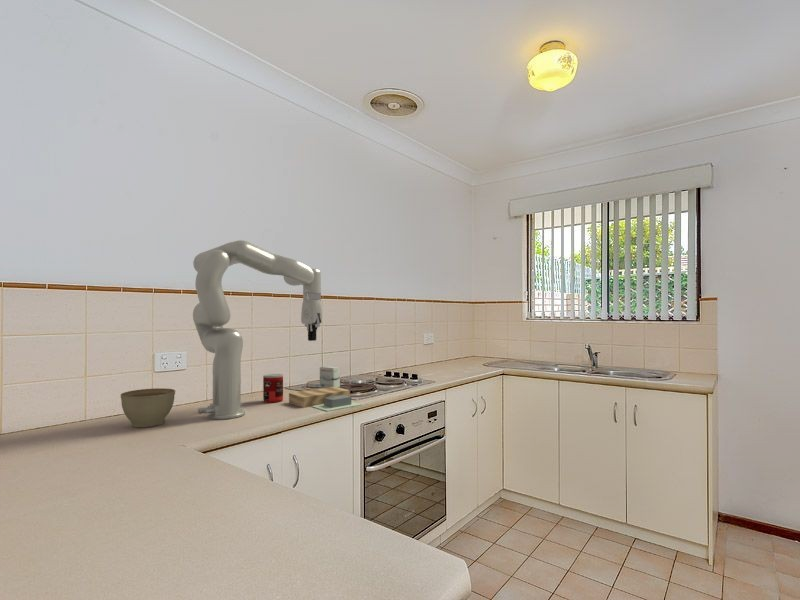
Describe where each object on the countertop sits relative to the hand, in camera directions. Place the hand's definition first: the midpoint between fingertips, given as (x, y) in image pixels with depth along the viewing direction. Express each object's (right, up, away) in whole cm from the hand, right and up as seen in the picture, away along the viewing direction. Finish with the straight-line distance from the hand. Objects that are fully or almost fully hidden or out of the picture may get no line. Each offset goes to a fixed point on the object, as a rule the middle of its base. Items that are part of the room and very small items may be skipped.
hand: (312, 340), depth 190 cm
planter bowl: (-47, -25, -41) cm, 67 cm away
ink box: (+5, -26, +15) cm, 30 cm away
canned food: (-16, -25, -4) cm, 30 cm away
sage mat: (+13, -25, -14) cm, 31 cm away
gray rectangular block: (+13, -23, -14) cm, 30 cm away
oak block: (+4, -25, -5) cm, 26 cm away
